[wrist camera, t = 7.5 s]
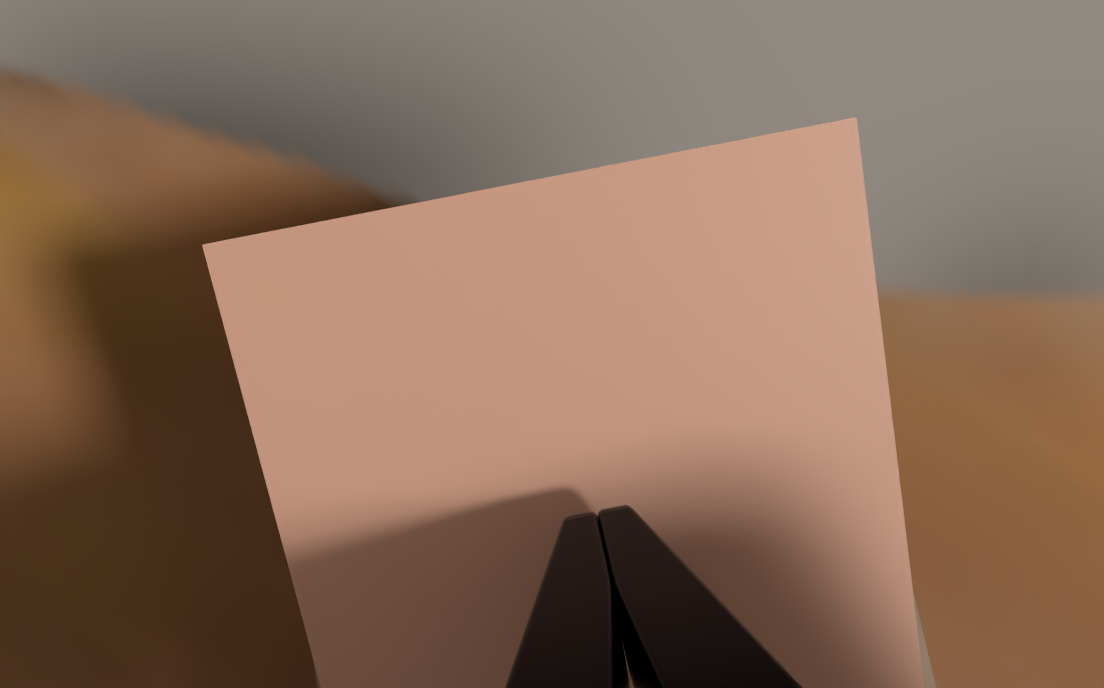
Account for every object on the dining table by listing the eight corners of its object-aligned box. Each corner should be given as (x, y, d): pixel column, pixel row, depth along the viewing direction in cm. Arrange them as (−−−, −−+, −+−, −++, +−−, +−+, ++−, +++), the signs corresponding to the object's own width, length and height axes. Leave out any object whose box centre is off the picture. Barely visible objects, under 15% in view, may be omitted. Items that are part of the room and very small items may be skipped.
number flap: (961, 860, 11) (877, 112, 9) (380, 973, 11) (181, 247, 9) (912, 786, 12) (829, 125, 11) (396, 886, 12) (228, 242, 11)
